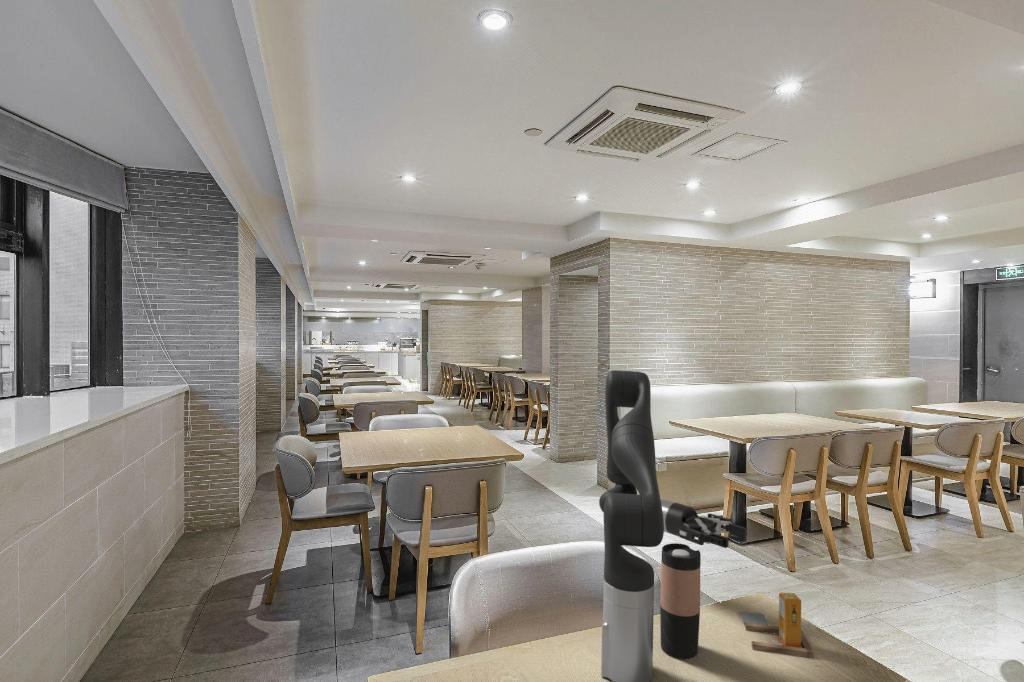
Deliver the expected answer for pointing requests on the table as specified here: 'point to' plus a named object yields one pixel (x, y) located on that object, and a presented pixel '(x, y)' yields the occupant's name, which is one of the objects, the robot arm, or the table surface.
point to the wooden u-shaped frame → (803, 651)
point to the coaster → (753, 618)
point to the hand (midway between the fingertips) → (737, 538)
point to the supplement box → (790, 619)
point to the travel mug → (680, 600)
